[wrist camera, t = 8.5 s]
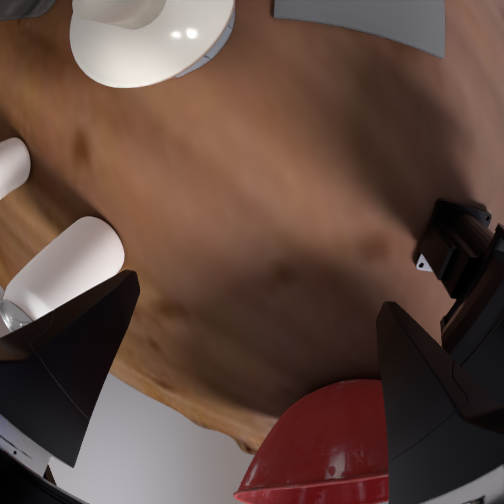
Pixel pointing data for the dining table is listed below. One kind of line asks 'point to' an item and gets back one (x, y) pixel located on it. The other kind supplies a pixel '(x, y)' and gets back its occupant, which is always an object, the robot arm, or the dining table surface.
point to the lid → (144, 37)
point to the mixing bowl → (324, 450)
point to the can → (62, 271)
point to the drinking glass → (13, 165)
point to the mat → (376, 19)
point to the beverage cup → (23, 8)
